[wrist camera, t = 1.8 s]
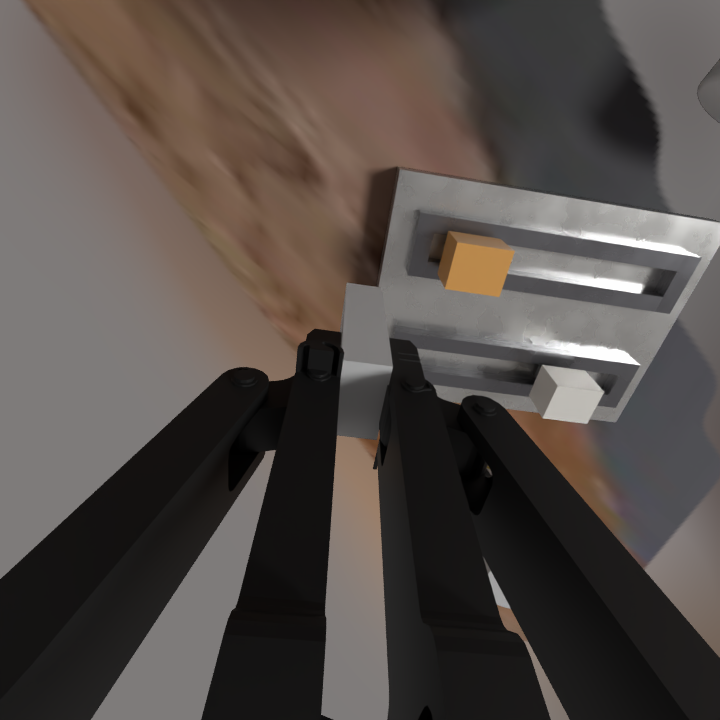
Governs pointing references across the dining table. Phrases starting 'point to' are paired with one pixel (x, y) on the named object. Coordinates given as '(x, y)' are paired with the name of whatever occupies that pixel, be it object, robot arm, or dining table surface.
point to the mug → (711, 92)
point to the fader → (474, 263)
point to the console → (537, 286)
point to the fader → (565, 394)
